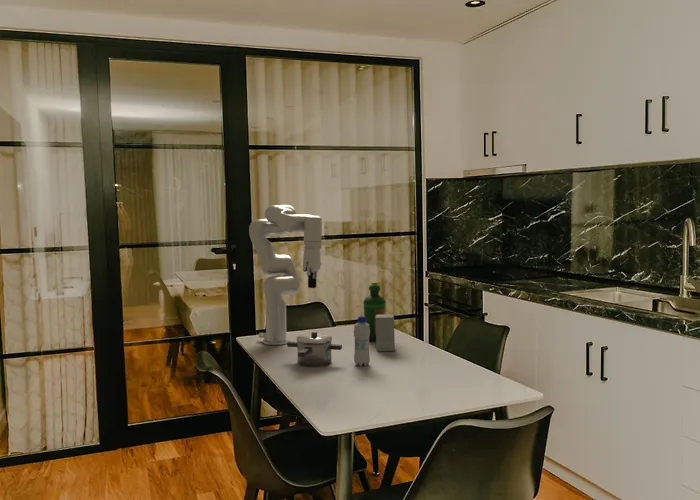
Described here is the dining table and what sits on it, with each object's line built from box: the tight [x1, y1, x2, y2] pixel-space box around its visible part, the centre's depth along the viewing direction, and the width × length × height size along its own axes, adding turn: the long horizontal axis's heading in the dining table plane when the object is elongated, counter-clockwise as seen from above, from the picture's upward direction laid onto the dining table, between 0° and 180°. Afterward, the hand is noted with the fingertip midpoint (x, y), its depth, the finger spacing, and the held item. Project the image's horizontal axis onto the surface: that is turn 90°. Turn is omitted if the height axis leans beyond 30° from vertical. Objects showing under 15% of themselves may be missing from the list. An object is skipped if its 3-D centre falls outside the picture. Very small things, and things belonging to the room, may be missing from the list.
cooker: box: [286, 340, 343, 368], centre depth 248 cm, size 23×24×9 cm
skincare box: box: [375, 314, 396, 352], centre depth 273 cm, size 8×7×16 cm
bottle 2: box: [363, 281, 386, 343], centre depth 292 cm, size 11×11×28 cm
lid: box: [296, 331, 333, 344], centre depth 252 cm, size 15×15×3 cm
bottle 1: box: [353, 315, 371, 367], centre depth 248 cm, size 7×7×20 cm
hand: (312, 287), depth 261 cm, fingers closed
